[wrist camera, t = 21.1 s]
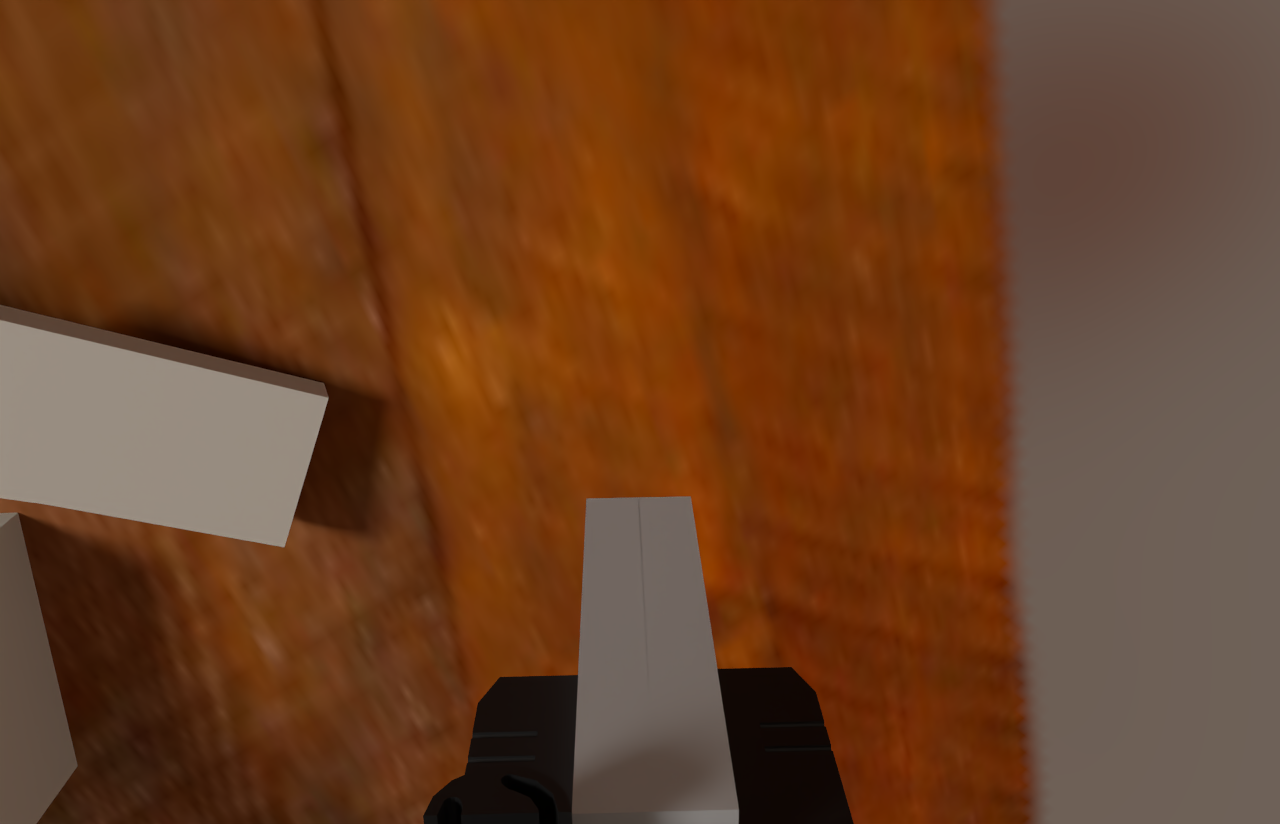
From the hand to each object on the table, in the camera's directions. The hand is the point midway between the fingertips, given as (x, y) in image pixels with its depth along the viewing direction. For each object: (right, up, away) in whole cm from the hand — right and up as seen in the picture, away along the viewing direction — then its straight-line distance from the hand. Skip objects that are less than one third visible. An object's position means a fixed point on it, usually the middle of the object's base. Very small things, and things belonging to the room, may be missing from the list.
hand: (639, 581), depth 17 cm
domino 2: (-13, +1, +26) cm, 29 cm away
